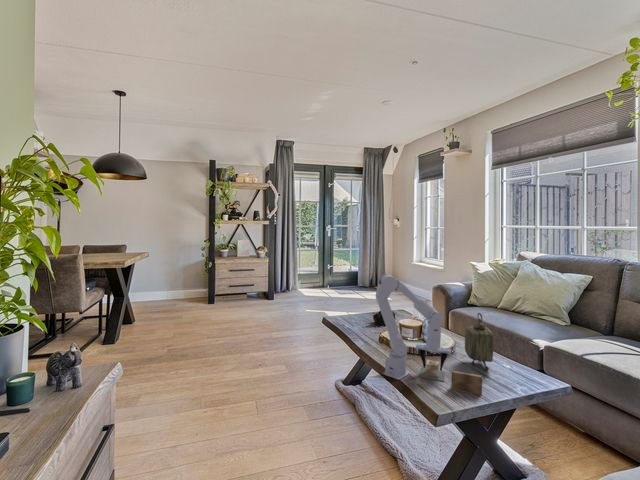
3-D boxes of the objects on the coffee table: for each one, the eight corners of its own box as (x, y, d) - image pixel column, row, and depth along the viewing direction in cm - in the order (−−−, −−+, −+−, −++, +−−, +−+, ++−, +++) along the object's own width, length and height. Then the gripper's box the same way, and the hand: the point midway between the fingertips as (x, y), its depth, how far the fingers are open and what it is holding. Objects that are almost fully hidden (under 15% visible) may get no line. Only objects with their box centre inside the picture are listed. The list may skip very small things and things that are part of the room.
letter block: (425, 375, 142) (426, 363, 142) (427, 370, 147) (427, 359, 147) (438, 377, 140) (438, 365, 140) (438, 372, 145) (439, 361, 145)
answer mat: (419, 377, 141) (419, 376, 141) (421, 368, 150) (421, 367, 150) (444, 382, 137) (444, 381, 137) (445, 372, 146) (445, 371, 146)
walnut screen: (451, 389, 131) (451, 371, 131) (451, 387, 132) (451, 370, 132) (481, 395, 127) (482, 377, 126) (481, 393, 128) (482, 375, 128)
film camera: (382, 320, 230) (383, 306, 230) (397, 324, 221) (397, 309, 220) (366, 324, 219) (366, 309, 218) (380, 329, 209) (381, 313, 209)
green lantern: (492, 372, 147) (494, 317, 147) (471, 370, 149) (472, 316, 148) (483, 360, 162) (485, 310, 161) (463, 358, 163) (465, 308, 162)
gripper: (415, 338, 142) (414, 368, 143) (451, 343, 137) (450, 375, 137) (417, 333, 149) (416, 362, 149) (451, 338, 143) (450, 368, 144)
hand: (432, 368), depth 144 cm, fingers open, 6 cm apart
